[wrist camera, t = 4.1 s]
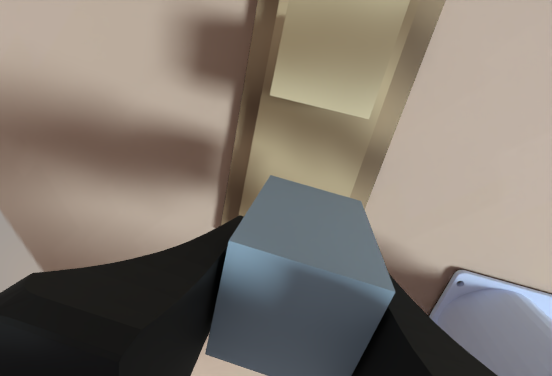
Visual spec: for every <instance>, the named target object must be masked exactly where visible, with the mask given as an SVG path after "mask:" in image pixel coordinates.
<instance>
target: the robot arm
mask: <svg viewBox="0 0 552 376" xmlns="http://www.w3.org/2000/svg"><path fill="white" fill-rule="evenodd" d="M243 218H244V216H241V215H239V216H237V217H236V218H234V219H232V220H230V221H228V222H227V223H225V224H223V225H221V226H219V227H218V228H216V229H214V230H212V231H210V232H208V233H206V234H204V235H202V236H200V237H197V238H195V239H193V240H191V241H189V242H186V243H184V244H181V245H178V246H176V247H173V248H170V249H167V250H164V251H160V252H157V253H153V254H149V255H145V256H142V257H138V258H134V259H130V260H125V261H120V262H115V263H110V264H104V265H98V266H92V267H85V268H77V269H68V270H59V271H50V272H39V273H32V274H30V275H29V276H27V277H25V278H24V279H22V280H20V281H19V282H17V283H16V284H14V285H12V286H11V287H9V288H8V289H6V290H4V291H3V292H1V293H0V376H191V373H192V371H193V368H194V366H195V364H196V361H197V359H198V357H199V354H200V352H201V350H202V347H203V345H204V343H205V341H206V339H207V336H208V334H209V332H210V329H211V324H212V320H213V315H214V310H215V305H216V300H217V295H218V291H219V286H220V281H221V276H222V271H223V266H224V262H225V257H226V252H227V247H228V242H229V240H230V238H231V236H232V235H233V233H234V232H235V230H236V229H237V227H238V225H239V224H240V222H241V221H242V219H243ZM389 276H390V279H391V281H392V284H393V287H394V289H395V294H394V296H393V298H392V300H391V302H390V303H389V305H388V307H387V309H386V311H385V313H384V315H383V317H382V319H381V321H380V322H379V324H378V326H377V328H376V330H375V332H374V334H373V336H372V338H371V339H370V341H369V343H368V345H367V347H366V349H365V351H364V353H363V355H362V356H361V358H360V360H359V362H358V364H357V366H356V368H355V370H354V372H353V373H352V375H351V376H552V294H548V293H545V292H541V291H537V290H534V289H530V288H527V287H523V286H519V285H516V284H512V283H509V282H505V281H501V280H498V279H494V278H491V277H487V276H483V275H480V274H476V273H473V272H469V271H466V270H458V271H456V272H455V273H454V275H453V277H452V278H451V280H450V282H449V283H448V285H447V287H446V288H445V290H444V292H443V294H442V295H441V297H440V299H439V300H438V302H437V304H436V305H435V307H434V309H433V310H432V312H431V314H430V316H428V315H427V314H426V313H425V312H424V311H423V310H422V309H421V308H420V307H419V306H418V305H417V304H416V303H415V302H414V301H413V300H412V299H411V298H410V297H409V296H408V295H407V294H406V292H405V291H404V290H403V289H402V288H401V287H400V286H399V285H398V284H397V282H396V281H395V280H394V279H393V278H392V277H391V275H390V274H389ZM458 281H461V282H460V283H457V282H458Z"/></svg>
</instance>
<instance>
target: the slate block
mask: <svg viewBox="0 0 552 376" xmlns="http://www.w3.org/2000/svg"><path fill="white" fill-rule="evenodd" d="M394 294H395V289H394V287H393V284H392V281H391V279H390V276H389V273H388V271H387V268H386V265H385V263H384V260H383V258H382V255H381V252H380V250H379V247H378V244H377V242H376V239H375V236H374V234H373V231H372V228H371V226H370V223H369V221H368V218H367V215H366V213H365V210H364V207H363V205H362V202H361V201H359V200H356V199H352V198H349V197H345V196H342V195H338V194H335V193H331V192H328V191H324V190H321V189H317V188H314V187H311V186H307V185H304V184H300V183H297V182H293V181H290V180H286V179H283V178H279V177H276V176H272V175H270V177H269V178H268V180H267V181H266V183H265V185H264V186H263V188H262V189H261V191H260V192H259V194H258V196H257V197H256V199H255V200H254V202H253V203H252V205H251V207H250V208H249V210H248V211H247V213H246V214H245V216H244V218H243V219H242V221H241V222H240V224H239V225H238V227H237V229H236V230H235V232H234V233H233V235H232V236H231V238H230V240H229V242H228V247H227V252H226V257H225V262H224V266H223V271H222V276H221V281H220V286H219V291H218V295H217V300H216V305H215V310H214V315H213V320H212V324H211V329H210V334H209V339H208V344H207V348H206V353H205V354H206V355H209V356H212V357H215V358H218V359H221V360H224V361H227V362H230V363H233V364H235V365H238V366H241V367H244V368H247V369H250V370H253V371H256V372H259V373H262V374H265V375H268V376H351V375H352V373H353V372H354V370H355V368H356V366H357V364H358V362H359V360H360V358H361V356H362V355H363V353H364V351H365V349H366V347H367V345H368V343H369V341H370V339H371V338H372V336H373V334H374V332H375V330H376V328H377V326H378V324H379V322H380V321H381V319H382V317H383V315H384V313H385V311H386V309H387V307H388V305H389V303H390V302H391V300H392V298H393V296H394Z"/></svg>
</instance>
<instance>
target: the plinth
mask: <svg viewBox="0 0 552 376" xmlns="http://www.w3.org/2000/svg"><path fill="white" fill-rule="evenodd" d="M445 1H446V0H410V2H409V5H408V8H407V11H406V14H405V17H404V20H403V22H402V25H401V28H400V31H399V34H398V37H397V40H396V43H395V46H394V48H393V51H392V54H391V57H390V60H389V63H388V66H387V69H386V72H385V74H384V77H383V80H382V83H381V86H380V89H379V92H378V95H377V98H376V101H375V103H374V106H373V109H372V112H371V115H370V118H369V119H365V118H361V117H357V116H353V115H349V114H345V113H341V112H337V111H332V110H328V109H324V108H320V107H316V106H312V105H308V104H304V103H300V102H295V101H291V100H287V99H283V98H279V97H275V96H271V95H270V91H271V86H272V81H273V76H274V71H275V66H276V61H277V56H278V51H279V47H280V42H281V37H282V32H283V27H284V22H285V17H286V12H287V7H288V2H289V0H258V2H257V8H256V14H255V20H254V26H253V32H252V38H251V44H250V51H249V57H248V63H247V69H246V75H245V81H244V87H243V93H242V99H241V105H240V112H239V118H238V124H237V130H236V136H235V142H234V148H233V154H232V160H231V166H230V172H229V179H228V185H227V191H226V197H225V203H224V209H223V215H222V221H221V225H223V224H225V223H227V222H228V221H230V220H232V219H234V218H236V217H237V216H239V215H241V216H245V214H246V213H247V211H248V210H249V208H250V207H251V205H252V203H253V202H254V200H255V199H256V197H257V196H258V194H259V192H260V191H261V189H262V188H263V186H264V185H265V183H266V181H267V180H268V178H269V177H270V175H272V176H276V177H279V178H283V179H286V180H290V181H293V182H297V183H300V184H304V185H307V186H311V187H314V188H317V189H321V190H324V191H328V192H331V193H335V194H338V195H342V196H345V197H349V198H352V199H356V200H359V201H361V202H362V205H363V207H364V209H365V207H366V204H367V202H368V199H369V197H370V194H371V191H372V189H373V186H374V184H375V181H376V178H377V176H378V173H379V171H380V168H381V166H382V163H383V160H384V158H385V155H386V153H387V150H388V148H389V145H390V142H391V140H392V137H393V135H394V132H395V130H396V127H397V124H398V122H399V119H400V117H401V114H402V111H403V109H404V106H405V104H406V101H407V99H408V96H409V93H410V91H411V88H412V86H413V83H414V81H415V78H416V75H417V73H418V70H419V68H420V65H421V62H422V60H423V57H424V55H425V52H426V50H427V47H428V44H429V42H430V39H431V37H432V34H433V32H434V29H435V26H436V24H437V21H438V19H439V16H440V14H441V11H442V8H443V6H444V3H445Z"/></svg>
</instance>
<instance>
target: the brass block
mask: <svg viewBox="0 0 552 376" xmlns="http://www.w3.org/2000/svg"><path fill="white" fill-rule="evenodd" d="M409 2H410V0H289V2H288V7H287V12H286V17H285V22H284V27H283V32H282V37H281V42H280V47H279V51H278V56H277V61H276V66H275V71H274V76H273V81H272V86H271V91H270V95H271V96H275V97H279V98H283V99H287V100H291V101H295V102H300V103H304V104H308V105H312V106H316V107H320V108H324V109H328V110H332V111H337V112H341V113H345V114H349V115H353V116H357V117H361V118H365V119H369V118H370V115H371V112H372V109H373V106H374V103H375V101H376V98H377V95H378V92H379V89H380V86H381V83H382V80H383V77H384V74H385V72H386V69H387V66H388V63H389V60H390V57H391V54H392V51H393V48H394V46H395V43H396V40H397V37H398V34H399V31H400V28H401V25H402V22H403V20H404V17H405V14H406V11H407V8H408V5H409Z"/></svg>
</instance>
